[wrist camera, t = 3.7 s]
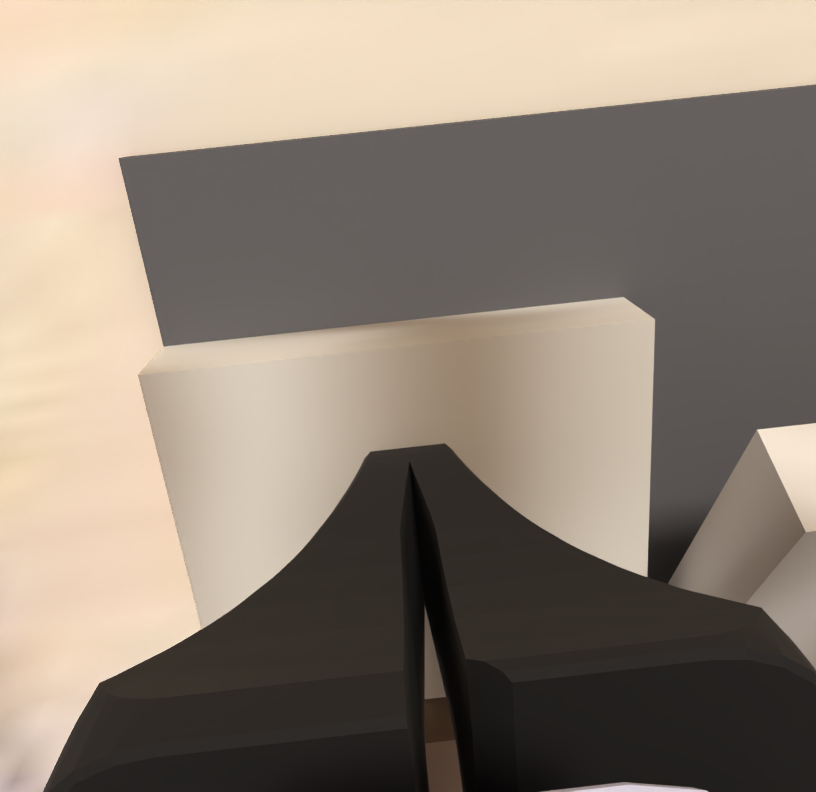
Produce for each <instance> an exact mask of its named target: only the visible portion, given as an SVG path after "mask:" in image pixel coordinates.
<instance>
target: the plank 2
mask: <svg viewBox="0 0 816 792" xmlns="http://www.w3.org/2000/svg"><path fill="white" fill-rule="evenodd" d="M668 584H670V585H673V586H676V587H679V588H682V589H686V590H689V591H693V592H698V593H702V594H706V595H710V596H715V597H719V598H723V599H727V600H732V601H736V602H740V603H744V604H749V605H753V606H757V607H761V608H762V609H763V610H764V611H765V612H766V613H767V614H768V615H769V616H770V617H771V619H772V620H773V621H774V622H775V623H776V624H777V625H778V626H779V627H780V628H781V629H782V630H783V631H784V632H785V633H786V634H787V635H788V636H789V638H790V639H791V640H792V641H793V642H794V643H795V644H796V646H797V647H798V648H799V649H800V651H801V652H802V653H803V654H804V655H805V657H806V658H807V659H808V660H809V662H810V663H811V664H812V666H813V667H814V668H815V670H816V423H812V424H803V425H794V426H785V427H776V428H767V429H758V430H756V432H755V434H754V436H753V437H752V439H751V441H750V443H749V444H748V446H747V448H746V449H745V451H744V453H743V455H742V456H741V458H740V460H739V462H738V463H737V465H736V467H735V468H734V470H733V472H732V474H731V475H730V477H729V479H728V481H727V482H726V484H725V486H724V487H723V489H722V491H721V493H720V494H719V496H718V498H717V500H716V501H715V503H714V505H713V506H712V508H711V510H710V512H709V513H708V515H707V517H706V519H705V520H704V522H703V524H702V526H701V527H700V529H699V531H698V532H697V534H696V536H695V538H694V539H693V541H692V543H691V545H690V546H689V548H688V550H687V551H686V553H685V555H684V557H683V558H682V560H681V562H680V564H679V565H678V567H677V569H676V570H675V572H674V574H673V576H672V577H671V579H670V581H669V583H668Z"/></svg>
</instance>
